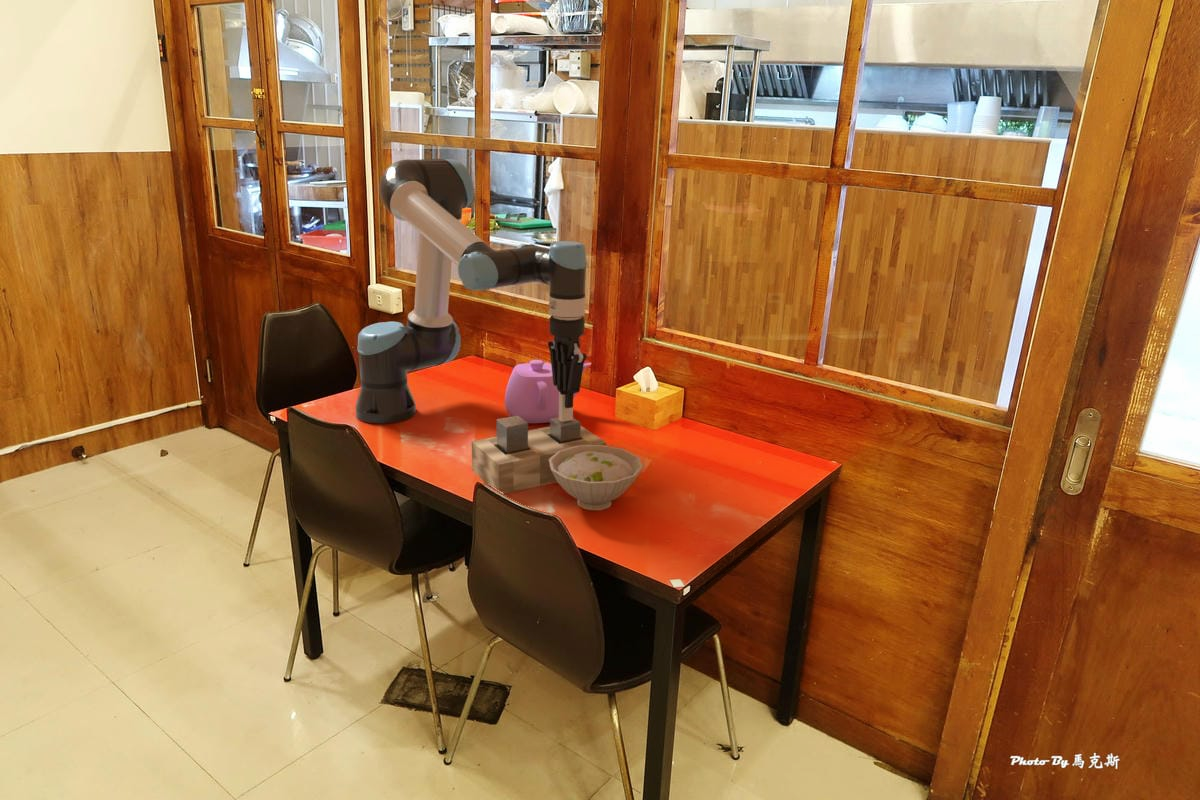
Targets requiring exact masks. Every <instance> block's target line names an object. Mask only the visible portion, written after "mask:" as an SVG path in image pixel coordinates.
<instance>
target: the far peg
mask: <svg viewBox="0 0 1200 800" xmlns="http://www.w3.org/2000/svg"><path fill="white" fill-rule="evenodd" d="M581 426H582V423H581V421H579V420H578V419H576V418H574V417H573V420H570V421H564V422H561V421H560V420H559V417H558V418H552V419H550V422H549V427H550V437H551V438H552V439H553V440H555V441H556V442H558V443H559V444H562V443H567V442H571V441H576V440H580V431H581Z"/></svg>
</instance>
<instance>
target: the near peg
mask: <svg viewBox="0 0 1200 800" xmlns="http://www.w3.org/2000/svg"><path fill="white" fill-rule="evenodd" d="M528 431H529V423H527V422H526V421H524V420H523V419H522V418H520V417H519V416H512V417H511V416H508V417H501V418H497V419H496V437H497V448H498V449H500V450H501V451H502V452H503V453H504V454H506V455H507V454H512V453H517V452H522V451H527V450H528Z"/></svg>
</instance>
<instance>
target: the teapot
mask: <svg viewBox="0 0 1200 800" xmlns="http://www.w3.org/2000/svg"><path fill="white" fill-rule="evenodd" d="M590 365H592V362H586V363H585V362H584V365H583V372H582V374H583V373H584V371H585V370H586V369H587V367H589V366H590ZM504 393H505V394H504V406H505V409H506V411H507V413H508V414H509V417H512V416H519V417H520V418H522V419H523V420H524V421H526V422H527V423H528V424H545V423H546V424H547V423H550V419H552V418H558V417H559V391H558V390H557V386H554V384H553V376H552V366H551V362H545V361H544V360H541V359H532V360H530V361H529V363H528V362H526V363H518V364H516V365H515V366H514V368H513V369H512V372H511V374H510V377H509V380H508V381H507V385H506V389H505V392H504ZM577 394H578V393H574V394H573V399H574V398H575V397H576V396H577Z"/></svg>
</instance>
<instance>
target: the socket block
mask: <svg viewBox="0 0 1200 800" xmlns="http://www.w3.org/2000/svg"><path fill="white" fill-rule="evenodd" d="M578 445H605V446H607V442H606V441H605V440H603V439H602V438H601V437H599V436H597V435H596V434H594V433H593V432H591V431H589V430H588V429H586V428H585V427H583V426H582V425H581V431H580V440H576V441H571V442H567V443H562V444H559V443H558V442H556V441H555V440H553V439H552V438H551V437H550V426H545V427H539V428H535V429H530V430H529V429H528V450H527V451H522V452H517V453H512V454H507V455H506V454H504V453H503V452H502V451H501V450H500V449H498V448H497V436H492V437H488V438H482V439H476V440H471V470H472V472H473V473H475V474H476V476H478V477H479V479H481V480H482V481H483V482H484V483H485V484H486V485H487V484H489V485H490V486H492V487H494V488H496V489H497V490H499V491H501V492H503V493H504V494H503V495H507V494H511V493H515V492H520V491H524V490H529V489H532V488H536V487H542V486H546V485H547V486H548V485H550V484H555V483H558V482H557V480H556V479H555V477H554V475H553V473H552V471H551V468H550V464H549V459H550V458H551V457H552V456H553V455H554V454H555V453H557V452H558V451H559V450H563V449H567V448H570V447H574V446H578Z"/></svg>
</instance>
